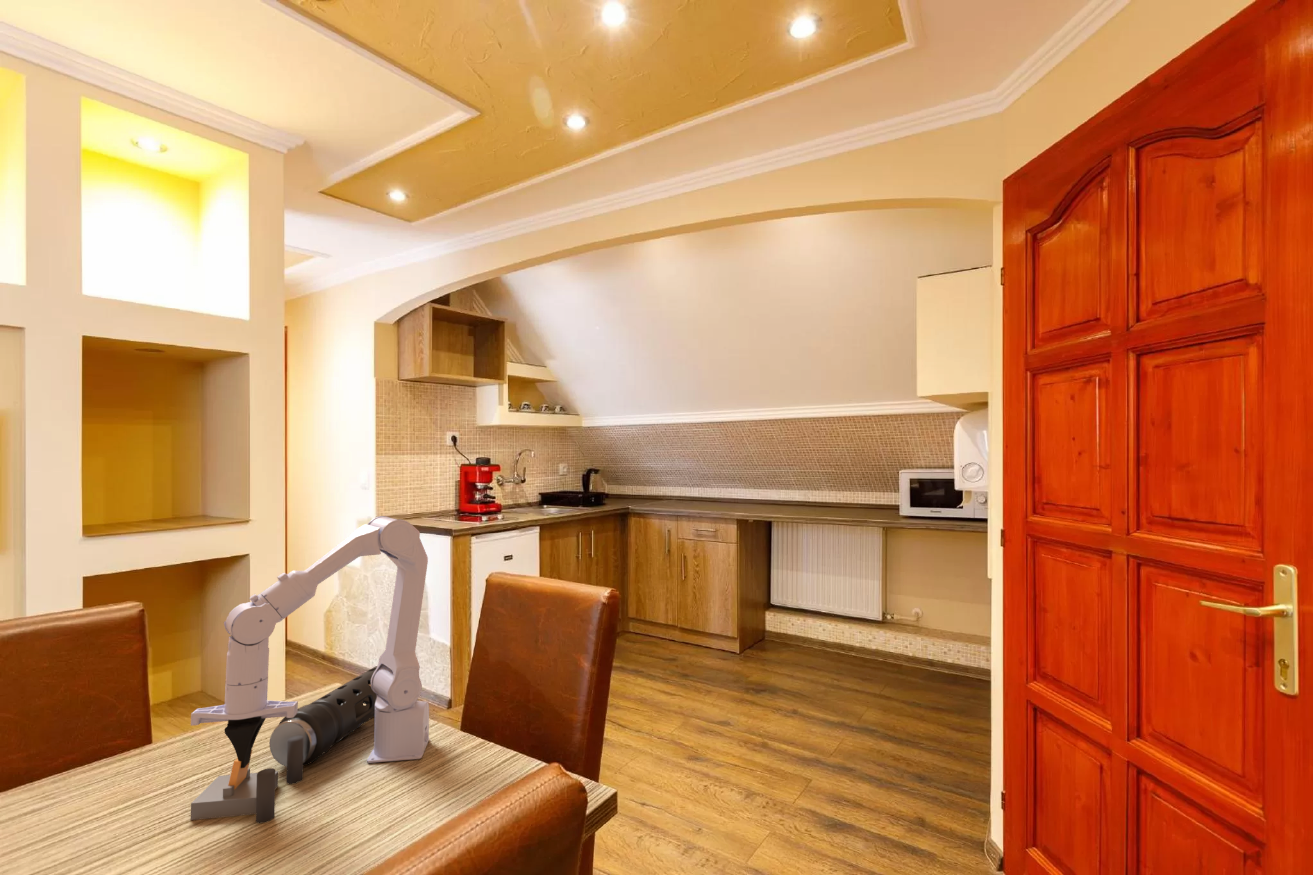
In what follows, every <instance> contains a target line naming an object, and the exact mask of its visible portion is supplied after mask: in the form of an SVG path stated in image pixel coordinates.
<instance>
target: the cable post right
mask: <svg viewBox="0 0 1313 875" xmlns="http://www.w3.org/2000/svg"><path fill="white" fill-rule="evenodd" d="M303 741H304V737H303V736H294V737H291V738H289V739H288V740H287V767H286V778H285V779H286V780H285V781H286V784H287V785H293V784H297V783H300V782H302V780H303V779H304V778H303V776H304V765H303Z"/></svg>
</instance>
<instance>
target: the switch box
mask: <svg viewBox="0 0 1313 875" xmlns="http://www.w3.org/2000/svg"><path fill="white" fill-rule="evenodd" d="M257 773H258V772H251V768H249V767H248V771H247V775H246V778H245V779H244V780H243V781H242V782H241V783H240V784H239V785H238V787H237V788H236V789H235V790H234V785H231V786H228V784H229V780H230V776H231V774H227V775H218V776H217V777H216V778H215V779H214V780H213V781H212V782H211V783H209V785H208V786H207V787H206V788H205V789H204V790H203V791H202V792H201V793H200V794H199V795H198V796H196V798H195V799H194V800H193V801H192V802H190V821H194V820H195V821H196V820H204V819H205V820H206V819H207V820H208V819H215V818H225V817H228V818H229V817H236V816H238V817H239V816H247V815H256V789H257ZM278 787H279V770H275V790H276V789H277V788H278Z"/></svg>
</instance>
